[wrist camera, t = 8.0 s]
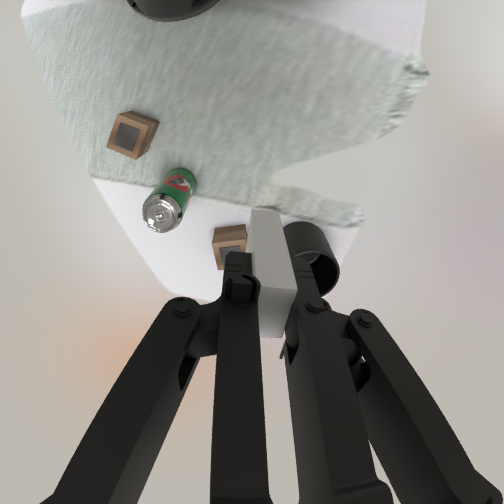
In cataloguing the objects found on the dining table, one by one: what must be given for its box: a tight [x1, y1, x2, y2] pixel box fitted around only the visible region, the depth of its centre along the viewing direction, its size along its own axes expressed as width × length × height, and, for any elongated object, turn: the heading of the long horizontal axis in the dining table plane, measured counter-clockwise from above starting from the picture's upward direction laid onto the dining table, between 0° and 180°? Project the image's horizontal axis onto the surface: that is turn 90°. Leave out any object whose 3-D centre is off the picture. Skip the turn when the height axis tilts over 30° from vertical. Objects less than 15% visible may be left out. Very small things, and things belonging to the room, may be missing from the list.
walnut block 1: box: [107, 111, 159, 159], centre depth 34 cm, size 5×5×5 cm
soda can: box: [143, 169, 196, 233], centre depth 36 cm, size 5×5×12 cm
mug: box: [283, 222, 340, 297], centre depth 44 cm, size 9×12×9 cm
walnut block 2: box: [212, 224, 247, 270], centre depth 44 cm, size 5×5×5 cm
